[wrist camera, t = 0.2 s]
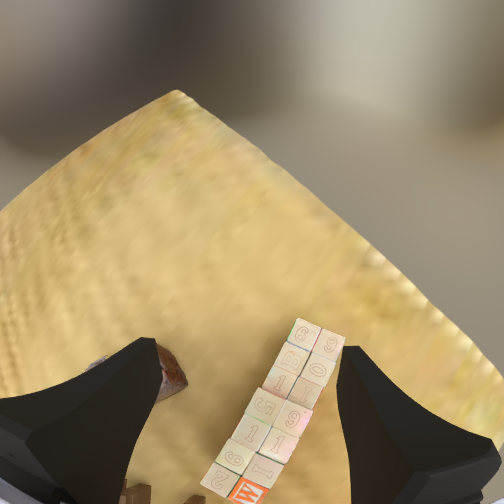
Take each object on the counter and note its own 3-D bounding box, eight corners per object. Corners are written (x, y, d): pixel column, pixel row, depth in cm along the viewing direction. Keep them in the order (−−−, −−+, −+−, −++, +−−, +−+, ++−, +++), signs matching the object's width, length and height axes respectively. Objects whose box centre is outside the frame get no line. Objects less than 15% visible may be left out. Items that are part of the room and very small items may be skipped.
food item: (117, 426, 38) (80, 424, 29) (98, 379, 42) (60, 368, 33) (193, 389, 40) (169, 381, 32) (169, 342, 44) (142, 322, 35)
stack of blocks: (295, 335, 43) (299, 307, 32) (336, 353, 41) (354, 331, 30) (221, 466, 35) (197, 484, 24) (262, 487, 33) (254, 513, 22)
